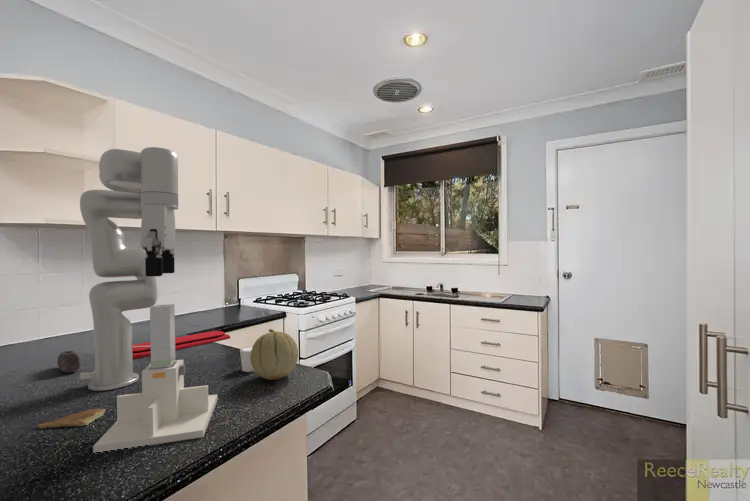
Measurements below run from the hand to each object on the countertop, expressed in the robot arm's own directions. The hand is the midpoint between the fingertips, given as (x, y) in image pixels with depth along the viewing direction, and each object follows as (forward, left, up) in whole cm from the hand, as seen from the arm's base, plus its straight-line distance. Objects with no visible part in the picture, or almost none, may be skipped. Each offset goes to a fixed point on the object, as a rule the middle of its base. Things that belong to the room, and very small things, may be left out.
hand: (161, 274), depth 83 cm
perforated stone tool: (-45, +55, -35) cm, 79 cm away
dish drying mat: (-16, +77, -36) cm, 87 cm away
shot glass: (+17, +34, -35) cm, 52 cm away
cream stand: (0, 0, -35) cm, 35 cm away
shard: (-21, +6, -36) cm, 42 cm away
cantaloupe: (+25, +22, -35) cm, 48 cm away
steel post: (0, 0, -25) cm, 25 cm away
